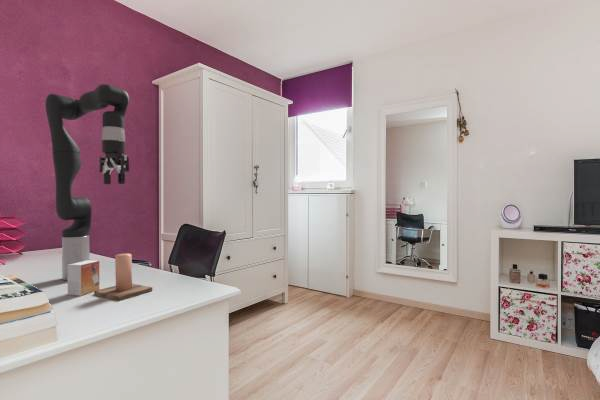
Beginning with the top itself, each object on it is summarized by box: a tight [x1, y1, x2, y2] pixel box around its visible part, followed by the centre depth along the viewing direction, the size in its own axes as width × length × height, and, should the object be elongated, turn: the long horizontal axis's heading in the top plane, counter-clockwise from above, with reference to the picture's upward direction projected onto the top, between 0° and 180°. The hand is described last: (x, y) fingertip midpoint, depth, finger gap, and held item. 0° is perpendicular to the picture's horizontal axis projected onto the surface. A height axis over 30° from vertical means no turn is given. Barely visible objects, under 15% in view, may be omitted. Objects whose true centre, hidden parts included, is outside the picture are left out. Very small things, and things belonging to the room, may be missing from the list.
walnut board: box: [93, 283, 153, 302], centre depth 112 cm, size 14×12×1 cm
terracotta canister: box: [114, 252, 133, 291], centre depth 112 cm, size 5×5×12 cm
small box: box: [67, 260, 100, 297], centre depth 113 cm, size 8×6×10 cm
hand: (114, 184), depth 120 cm, fingers open, 8 cm apart
